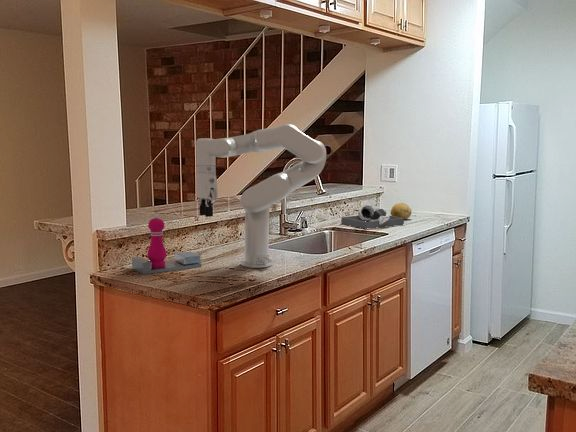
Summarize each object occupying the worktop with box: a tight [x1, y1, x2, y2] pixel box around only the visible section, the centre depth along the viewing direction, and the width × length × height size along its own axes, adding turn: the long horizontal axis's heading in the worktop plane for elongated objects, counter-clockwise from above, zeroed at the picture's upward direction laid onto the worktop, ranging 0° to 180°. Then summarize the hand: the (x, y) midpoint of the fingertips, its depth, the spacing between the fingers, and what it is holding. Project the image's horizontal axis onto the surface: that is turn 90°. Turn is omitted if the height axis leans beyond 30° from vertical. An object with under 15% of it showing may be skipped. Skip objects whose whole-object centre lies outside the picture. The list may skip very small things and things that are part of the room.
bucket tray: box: [340, 215, 405, 230], centre depth 339 cm, size 21×29×4 cm
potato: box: [390, 202, 412, 220], centre depth 360 cm, size 10×12×10 cm
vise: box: [131, 256, 203, 276], centre depth 229 cm, size 11×24×4 cm, turn 126°
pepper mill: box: [146, 213, 167, 268], centre depth 225 cm, size 7×7×20 cm
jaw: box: [173, 250, 201, 264], centre depth 234 cm, size 9×7×3 cm
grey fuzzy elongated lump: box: [357, 205, 391, 225], centre depth 337 cm, size 25×10×10 cm, turn 26°
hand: (206, 215), depth 236 cm, fingers open, 3 cm apart
